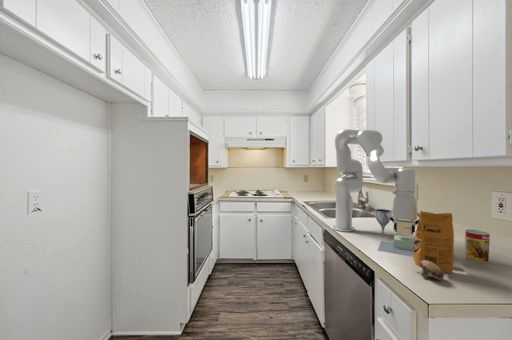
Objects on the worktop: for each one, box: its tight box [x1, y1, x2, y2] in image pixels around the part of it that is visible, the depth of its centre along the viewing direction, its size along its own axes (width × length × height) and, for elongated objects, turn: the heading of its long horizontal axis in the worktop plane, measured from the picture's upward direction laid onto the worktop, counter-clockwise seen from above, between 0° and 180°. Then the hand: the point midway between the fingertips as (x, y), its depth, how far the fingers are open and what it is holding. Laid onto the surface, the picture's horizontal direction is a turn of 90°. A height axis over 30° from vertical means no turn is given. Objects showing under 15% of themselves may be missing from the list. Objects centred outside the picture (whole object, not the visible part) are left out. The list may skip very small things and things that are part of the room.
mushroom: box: [419, 260, 444, 281], centre depth 92 cm, size 8×8×6 cm
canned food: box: [464, 229, 491, 264], centre depth 111 cm, size 8×8×12 cm
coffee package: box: [412, 210, 455, 274], centre depth 101 cm, size 10×12×22 cm
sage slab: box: [393, 234, 415, 251], centre depth 123 cm, size 8×8×4 cm
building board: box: [377, 240, 413, 258], centre depth 121 cm, size 17×15×1 cm
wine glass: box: [374, 208, 393, 238], centre depth 141 cm, size 8×8×15 cm
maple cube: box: [396, 219, 413, 237], centre depth 123 cm, size 6×6×6 cm
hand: (404, 232), depth 123 cm, fingers closed on maple cube, 6 cm apart
